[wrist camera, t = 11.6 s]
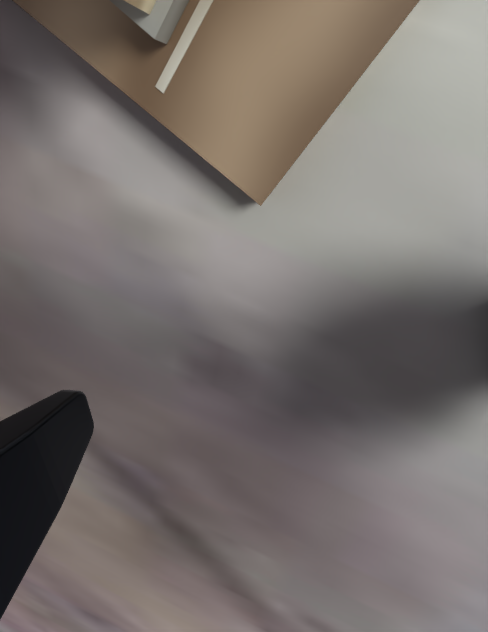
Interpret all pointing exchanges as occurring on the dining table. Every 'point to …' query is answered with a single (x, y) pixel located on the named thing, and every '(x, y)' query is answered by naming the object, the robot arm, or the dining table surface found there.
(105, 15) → the walnut board
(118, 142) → the dining table surface
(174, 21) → the tall beige pillar block
